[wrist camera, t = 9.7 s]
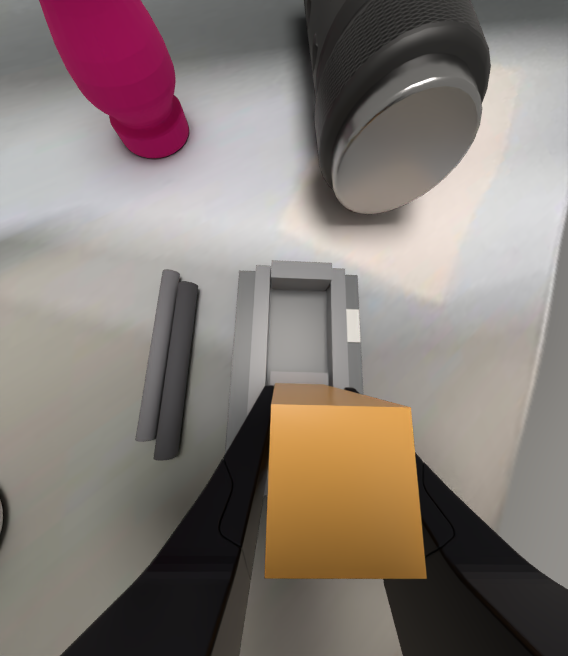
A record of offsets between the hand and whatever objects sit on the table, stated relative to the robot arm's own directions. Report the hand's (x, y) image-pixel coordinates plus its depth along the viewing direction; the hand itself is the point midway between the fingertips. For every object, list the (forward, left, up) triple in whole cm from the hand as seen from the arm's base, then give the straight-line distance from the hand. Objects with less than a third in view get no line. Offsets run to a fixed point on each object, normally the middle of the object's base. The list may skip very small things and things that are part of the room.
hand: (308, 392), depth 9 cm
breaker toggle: (-1, +1, -5) cm, 5 cm away
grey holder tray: (+1, -1, -7) cm, 7 cm away
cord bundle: (+6, +7, -7) cm, 11 cm away
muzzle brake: (+21, -19, -7) cm, 29 cm away
